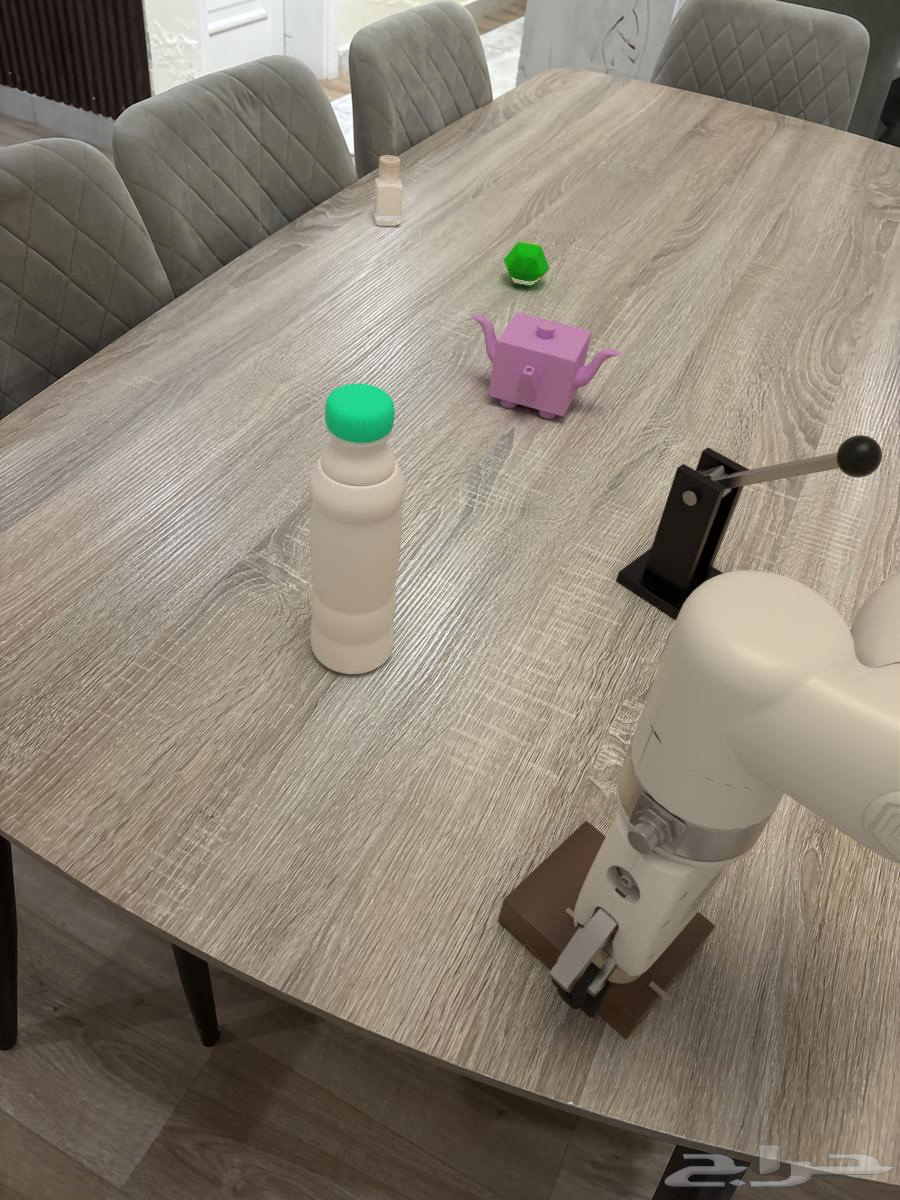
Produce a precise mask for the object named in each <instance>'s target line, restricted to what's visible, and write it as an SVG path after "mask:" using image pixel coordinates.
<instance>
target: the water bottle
mask: <svg viewBox="0 0 900 1200" xmlns="http://www.w3.org/2000/svg"><path fill="white" fill-rule="evenodd" d="M324 407H325V408H324V411H325V412H324V417H325V420H324V421H325V425H326V430H327V433H328V435H329V436H330V437H331V438H330V439H329V441H328V442H327V443H326V444H325V445H324V447H323V449H322V452H321V454H320V455H319V457H318V458H317V460H316V461H315V464H314V466H313V467H312V469H311V472H310V475H309V480H308V490H309V491H308V492H309V495H310V499H311V504H310V516H309V517H310V518H309V555H310V556H309V558H310V559H309V560H310V573H311V574H310V575H311V582H312V586H311V591H310V611H311V616H312V618H311V624H310V646H311V650H312V653H313V655H314V656H315V658H316V659H317V661H318V662H319V663H320V664H322V665H323V666H324V667H326V668H327V669H329V670H331V671H334V672H336V673H340V674H344V675H360V674H366V673H368V672H372V671H373V670H376V669H378V668H379V667H381V666H383V665H384V663H386V661H387V660H388V659H389V657H390V656H391V655H392V652H393V649H394V641H395V622H394V619H395V615H396V611H397V589H396V586H397V585H396V584H397V581H398V580H397V579H398V575H399V568H400V567H399V566H400V558H401V548H402V531H403V530H402V529H403V526H402V525H403V508H402V504H403V501H404V498H405V494H406V480H405V475H404V472H403V470H402V468H401V465H400V464H399V462H398V461H397V459H396V456H395V453H394V450H393V449H392V446H391V445H390V444H389V442H388V441H387V440H388V439H389V438H390V437H391V435H392V431H393V429H394V423H395V417H396V416H395V414H396V413H395V411H396V410H395V403H394V401H393V399H392V397H391V396H390V394H388V392H387V391H386V390H384V389H382V388H380V387H378V386H376V385H372V384H367V383H357V382H356V383H350V384H345V385H341V386H337V387H336V388H334V389H333V390H332V391H331V392H330V393H329V394H328V396H327V398H326V402H325V406H324Z"/></svg>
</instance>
